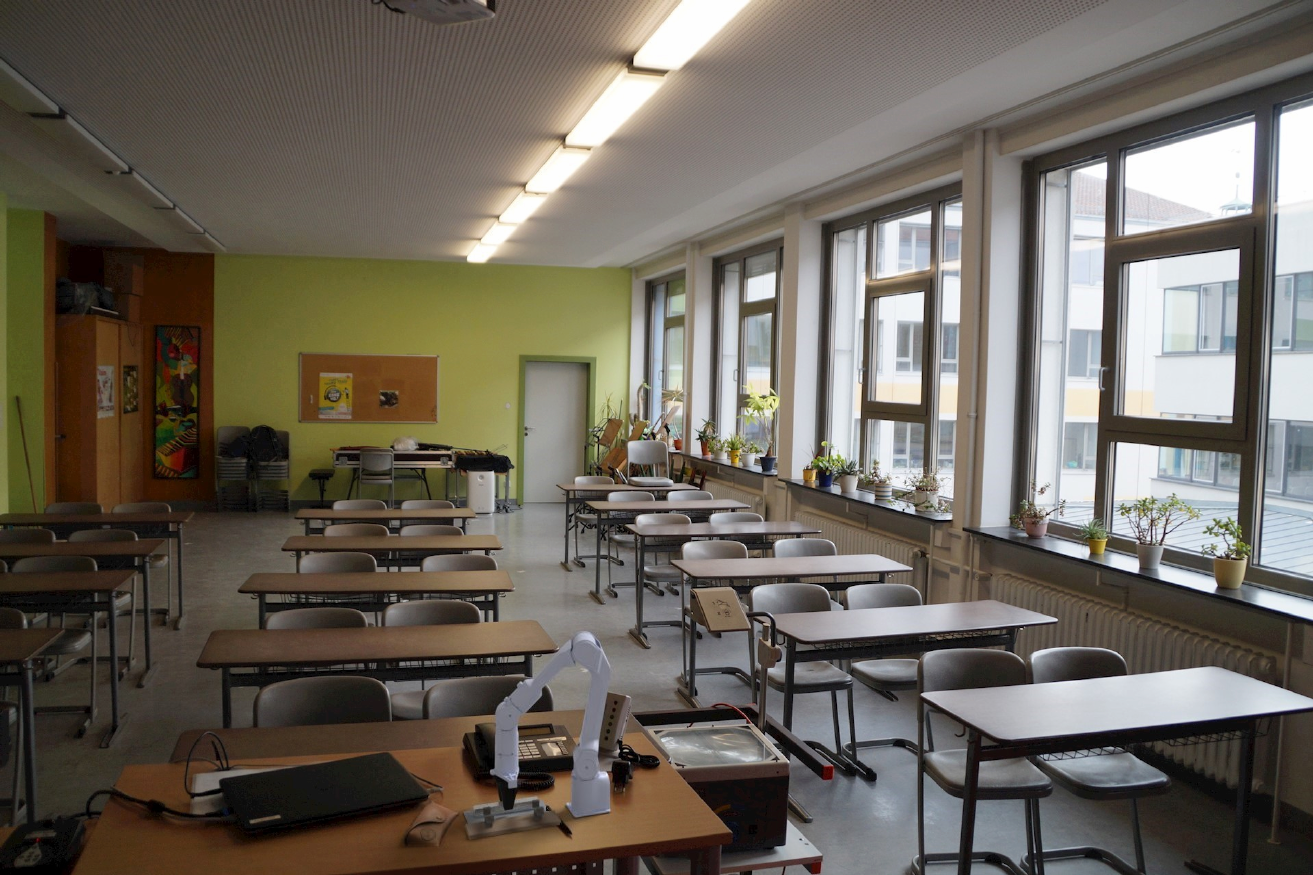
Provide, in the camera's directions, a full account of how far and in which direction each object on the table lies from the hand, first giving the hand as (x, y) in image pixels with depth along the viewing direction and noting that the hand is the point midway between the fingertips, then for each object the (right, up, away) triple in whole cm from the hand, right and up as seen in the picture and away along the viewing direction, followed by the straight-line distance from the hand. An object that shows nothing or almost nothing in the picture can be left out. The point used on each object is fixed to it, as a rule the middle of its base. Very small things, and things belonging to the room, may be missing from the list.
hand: (506, 805), depth 223 cm
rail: (0, -2, 0) cm, 2 cm away
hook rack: (+3, -2, -7) cm, 8 cm away
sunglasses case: (-16, -3, -9) cm, 19 cm away
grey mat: (0, -2, 0) cm, 2 cm away
